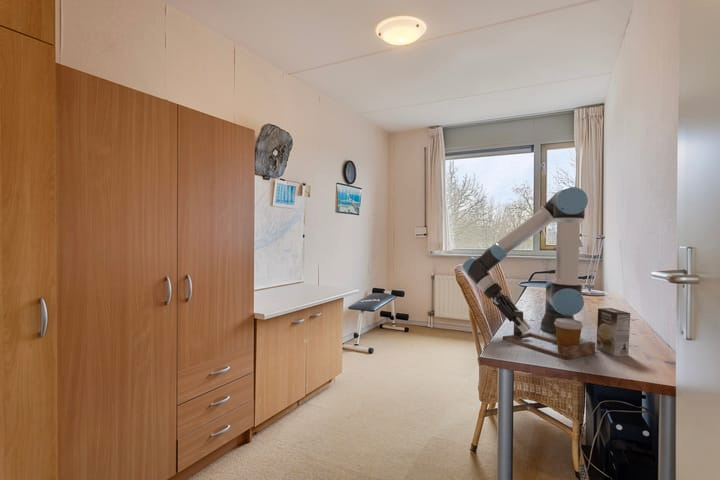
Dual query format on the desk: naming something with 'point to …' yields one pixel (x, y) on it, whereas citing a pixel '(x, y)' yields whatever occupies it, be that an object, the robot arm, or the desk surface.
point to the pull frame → (568, 351)
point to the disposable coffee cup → (567, 332)
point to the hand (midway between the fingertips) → (527, 330)
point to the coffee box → (613, 331)
